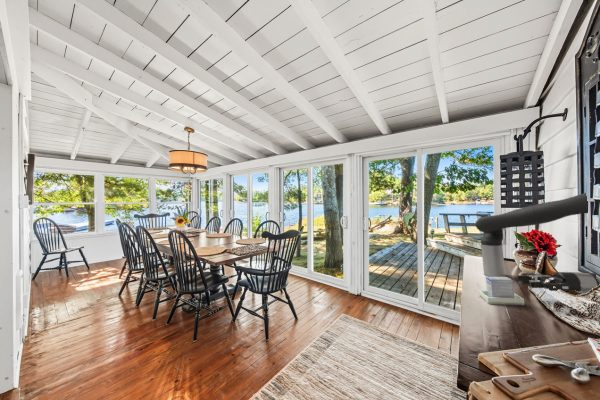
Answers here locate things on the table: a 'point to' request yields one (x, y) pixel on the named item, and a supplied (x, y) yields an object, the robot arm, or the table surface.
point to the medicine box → (500, 287)
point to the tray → (501, 299)
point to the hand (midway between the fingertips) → (523, 281)
